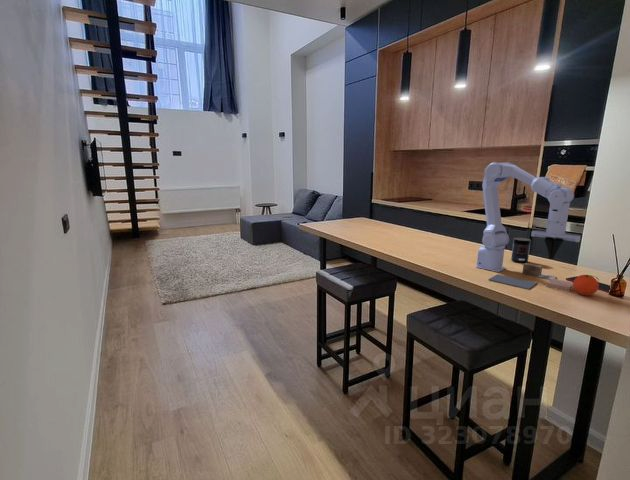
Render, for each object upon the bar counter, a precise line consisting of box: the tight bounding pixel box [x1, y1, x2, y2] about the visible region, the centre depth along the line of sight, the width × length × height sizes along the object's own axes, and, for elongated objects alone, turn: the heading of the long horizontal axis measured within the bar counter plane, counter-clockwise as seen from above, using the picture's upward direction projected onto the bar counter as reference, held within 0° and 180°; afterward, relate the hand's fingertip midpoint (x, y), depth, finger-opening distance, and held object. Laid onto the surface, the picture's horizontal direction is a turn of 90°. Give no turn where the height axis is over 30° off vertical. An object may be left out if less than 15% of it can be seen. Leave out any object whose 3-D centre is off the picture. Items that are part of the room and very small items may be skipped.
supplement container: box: [510, 237, 532, 264], centre depth 159 cm, size 7×7×10 cm
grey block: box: [522, 262, 558, 281], centre depth 139 cm, size 11×4×4 cm, turn 43°
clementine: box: [573, 274, 600, 296], centre depth 119 cm, size 8×7×7 cm
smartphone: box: [565, 275, 611, 293], centre depth 130 cm, size 7×1×15 cm
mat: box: [487, 274, 538, 291], centre depth 133 cm, size 14×9×1 cm, turn 43°
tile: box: [545, 278, 574, 292], centre depth 128 cm, size 2×7×7 cm
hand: (551, 258), depth 129 cm, fingers closed
